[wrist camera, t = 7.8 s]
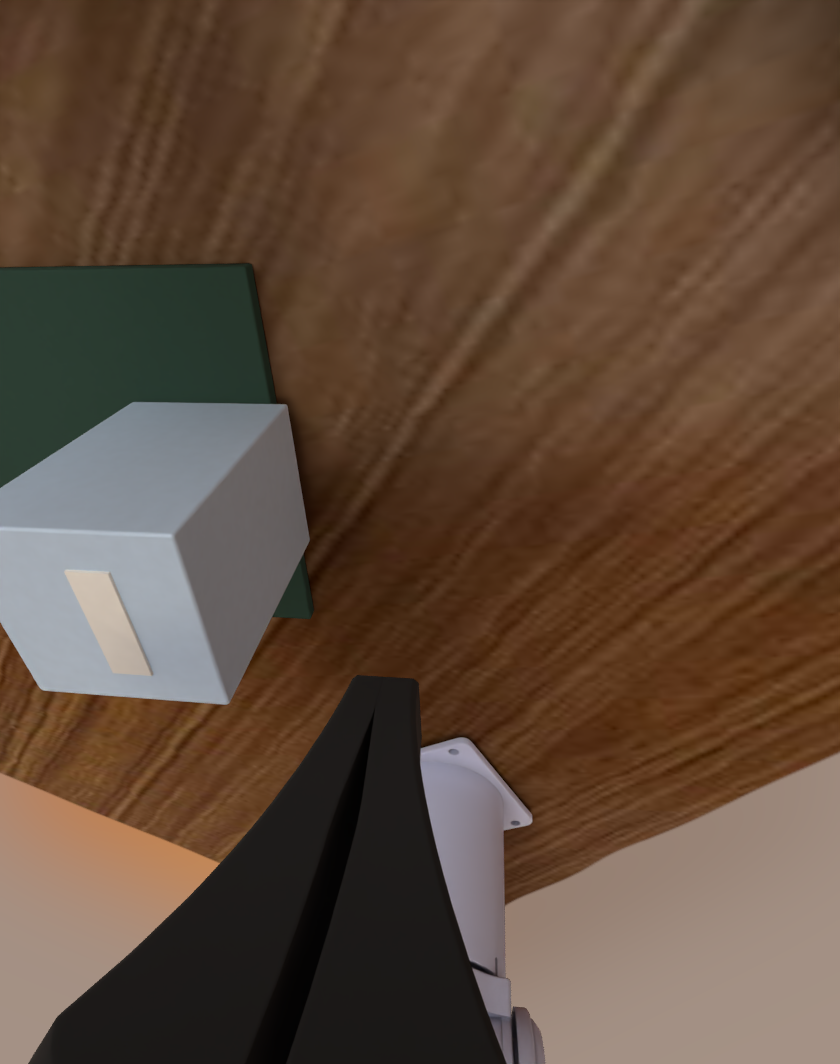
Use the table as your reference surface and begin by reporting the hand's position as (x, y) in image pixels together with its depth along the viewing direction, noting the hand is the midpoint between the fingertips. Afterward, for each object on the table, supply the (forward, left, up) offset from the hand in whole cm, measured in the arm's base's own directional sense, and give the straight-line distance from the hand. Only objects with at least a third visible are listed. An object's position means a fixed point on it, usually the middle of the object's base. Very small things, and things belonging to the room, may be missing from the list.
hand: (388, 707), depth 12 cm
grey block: (-6, +4, -5) cm, 9 cm away
